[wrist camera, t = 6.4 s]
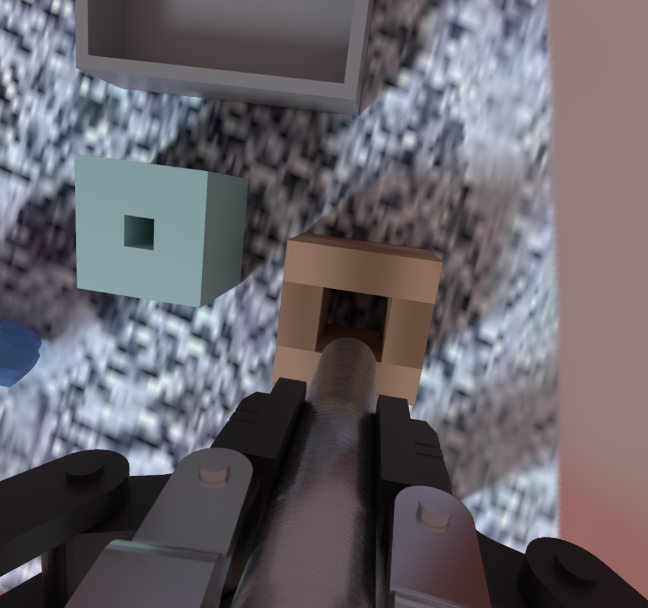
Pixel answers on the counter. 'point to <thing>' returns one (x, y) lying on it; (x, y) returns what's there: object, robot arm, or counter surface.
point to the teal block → (158, 230)
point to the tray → (230, 49)
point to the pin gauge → (322, 496)
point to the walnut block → (364, 277)
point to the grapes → (17, 352)
